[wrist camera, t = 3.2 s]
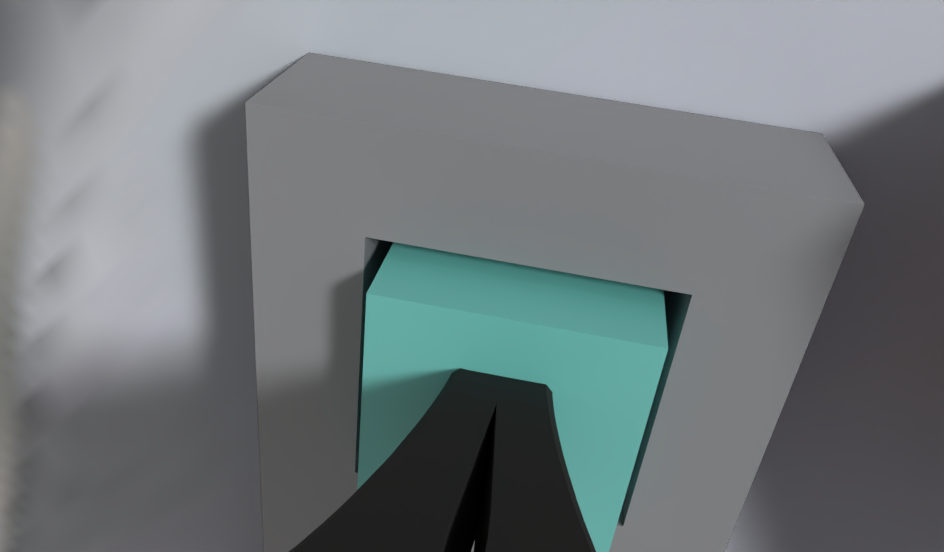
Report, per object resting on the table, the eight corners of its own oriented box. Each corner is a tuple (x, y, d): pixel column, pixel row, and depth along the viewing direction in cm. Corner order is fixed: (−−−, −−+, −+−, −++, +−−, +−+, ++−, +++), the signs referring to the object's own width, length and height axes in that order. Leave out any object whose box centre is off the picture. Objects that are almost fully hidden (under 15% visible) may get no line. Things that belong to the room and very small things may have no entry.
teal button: (610, 410, 15) (607, 556, 12) (407, 372, 16) (356, 504, 13) (658, 227, 13) (668, 348, 10) (423, 186, 14) (366, 293, 11)
